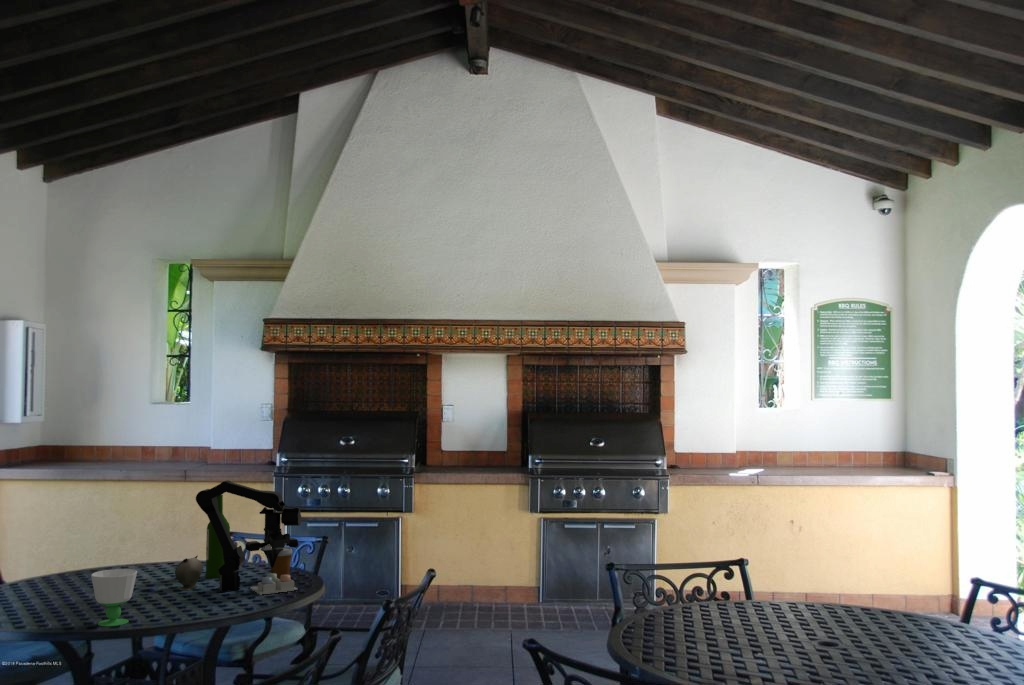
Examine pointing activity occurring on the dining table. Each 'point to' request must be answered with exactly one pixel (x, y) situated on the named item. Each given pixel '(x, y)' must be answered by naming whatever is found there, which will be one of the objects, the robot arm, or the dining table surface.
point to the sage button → (273, 575)
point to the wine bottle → (215, 546)
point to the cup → (113, 592)
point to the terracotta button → (285, 578)
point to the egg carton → (274, 587)
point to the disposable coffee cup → (282, 562)
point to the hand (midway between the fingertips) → (271, 567)
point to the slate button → (266, 580)
